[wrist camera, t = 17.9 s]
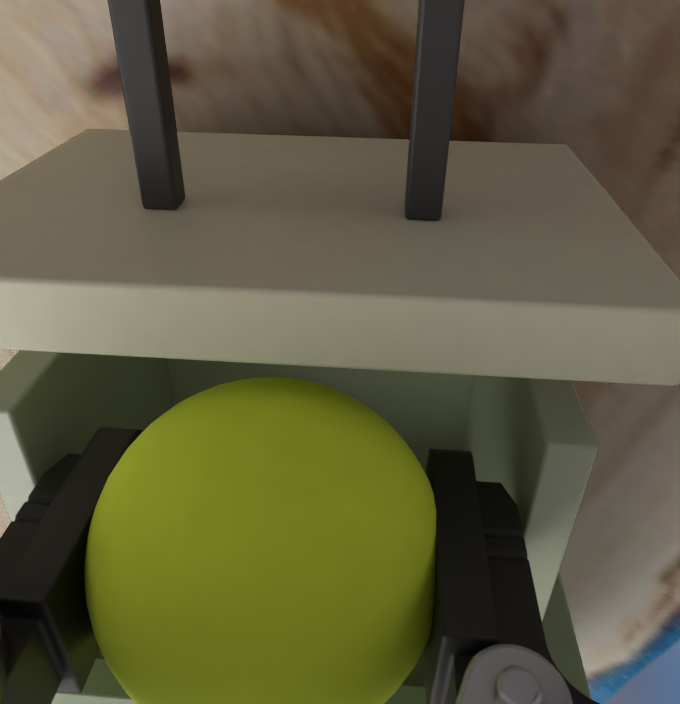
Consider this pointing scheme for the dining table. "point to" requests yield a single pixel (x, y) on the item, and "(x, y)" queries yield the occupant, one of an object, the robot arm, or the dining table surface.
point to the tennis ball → (263, 551)
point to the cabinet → (111, 699)
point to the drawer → (327, 284)
